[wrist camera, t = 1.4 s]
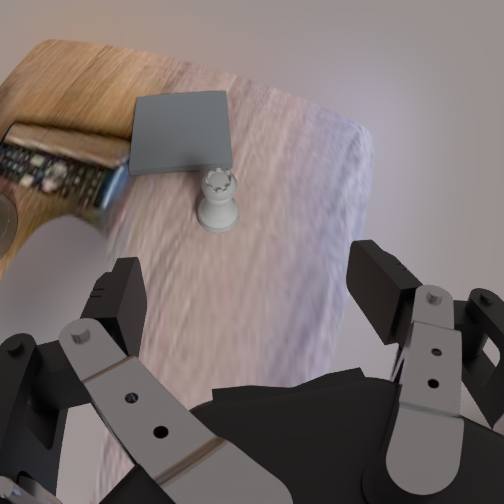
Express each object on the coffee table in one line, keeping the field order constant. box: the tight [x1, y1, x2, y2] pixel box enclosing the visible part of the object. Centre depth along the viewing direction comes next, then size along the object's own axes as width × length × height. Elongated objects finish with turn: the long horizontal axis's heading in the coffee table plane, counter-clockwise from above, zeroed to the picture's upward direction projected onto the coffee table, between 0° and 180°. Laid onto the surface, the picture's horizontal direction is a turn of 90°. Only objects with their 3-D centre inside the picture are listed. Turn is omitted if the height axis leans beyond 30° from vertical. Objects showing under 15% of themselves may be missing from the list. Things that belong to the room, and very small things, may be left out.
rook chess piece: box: [198, 167, 239, 233], centre depth 32 cm, size 4×4×8 cm
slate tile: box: [129, 91, 233, 176], centre depth 38 cm, size 12×12×1 cm
